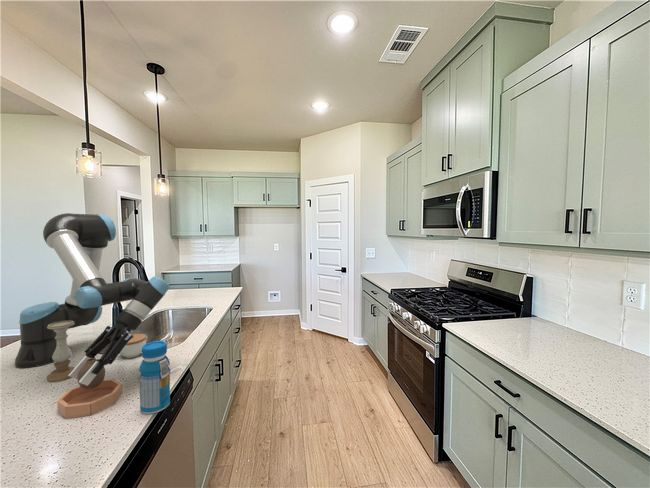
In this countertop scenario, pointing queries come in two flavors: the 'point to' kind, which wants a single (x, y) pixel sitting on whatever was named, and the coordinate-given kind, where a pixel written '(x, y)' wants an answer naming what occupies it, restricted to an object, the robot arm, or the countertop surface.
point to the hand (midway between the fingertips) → (77, 380)
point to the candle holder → (61, 352)
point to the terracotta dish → (89, 399)
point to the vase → (98, 377)
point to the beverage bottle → (154, 378)
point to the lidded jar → (134, 346)
